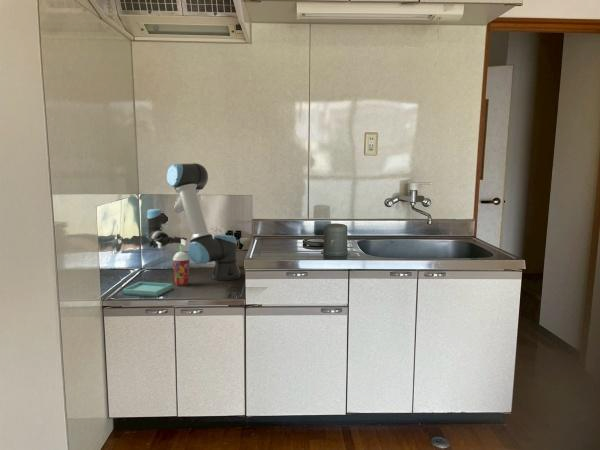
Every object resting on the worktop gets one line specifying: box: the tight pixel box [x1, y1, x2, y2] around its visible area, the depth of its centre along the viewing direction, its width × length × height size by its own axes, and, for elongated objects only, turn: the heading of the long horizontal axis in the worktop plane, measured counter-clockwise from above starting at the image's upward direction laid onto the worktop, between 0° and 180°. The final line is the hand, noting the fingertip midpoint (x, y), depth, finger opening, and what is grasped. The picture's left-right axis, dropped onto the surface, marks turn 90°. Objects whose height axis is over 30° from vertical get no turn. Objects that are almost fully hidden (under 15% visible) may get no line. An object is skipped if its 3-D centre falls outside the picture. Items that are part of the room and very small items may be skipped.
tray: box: [122, 281, 173, 298], centre depth 222 cm, size 18×14×2 cm
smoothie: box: [172, 245, 190, 287], centre depth 232 cm, size 8×8×20 cm
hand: (173, 244), depth 239 cm, fingers open, 13 cm apart
